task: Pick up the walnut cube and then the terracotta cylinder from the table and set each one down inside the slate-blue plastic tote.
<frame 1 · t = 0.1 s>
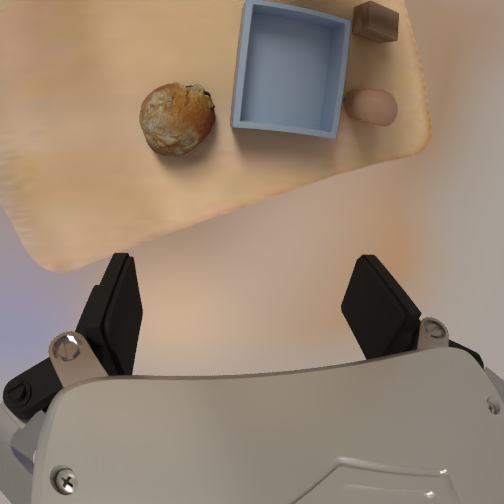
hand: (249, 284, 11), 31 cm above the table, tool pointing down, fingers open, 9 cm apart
terracotta cylinder: (358, 104, 36), on the table
tote: (285, 69, 33), on the table
bread roll: (178, 116, 35), on the table
walnut cube: (367, 25, 29), on the table
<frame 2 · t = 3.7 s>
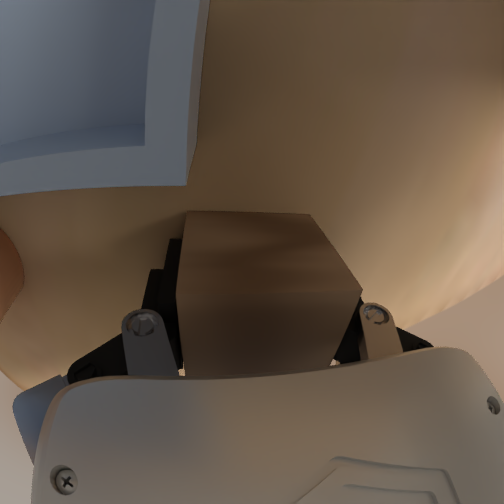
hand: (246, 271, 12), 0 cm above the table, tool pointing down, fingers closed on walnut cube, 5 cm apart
tote: (10, 16, 4), on the table
walnut cube: (245, 264, 13), on the table, touching gripper
when the fingers open (2 cm above the table, at t = 8.2 s): walnut cube drops 1 cm, resting on tote.
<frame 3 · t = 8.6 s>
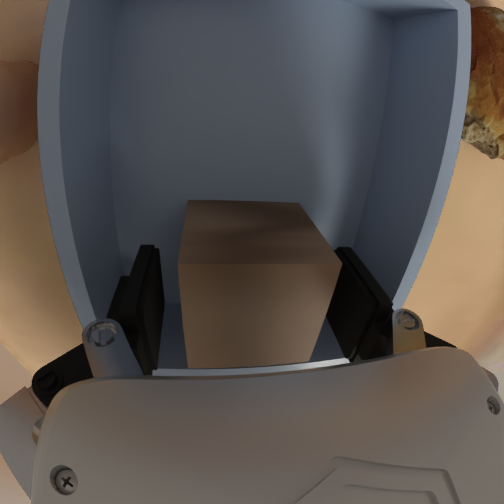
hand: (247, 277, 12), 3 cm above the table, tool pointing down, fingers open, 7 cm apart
terracotta cylinder: (12, 108, 8), on the table
tote: (248, 153, 12), on the table
bread roll: (472, 78, 11), on the table
walnut cube: (240, 249, 14), point 1 cm above the table, touching tote
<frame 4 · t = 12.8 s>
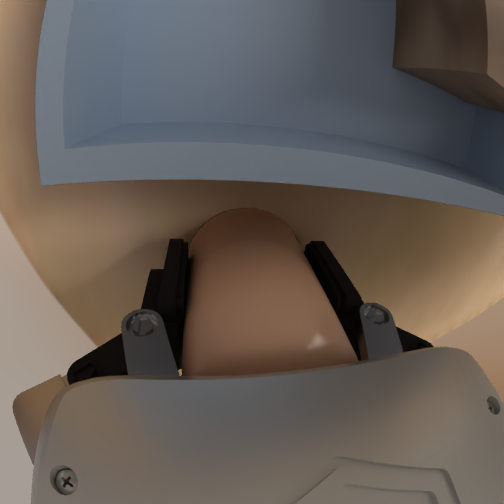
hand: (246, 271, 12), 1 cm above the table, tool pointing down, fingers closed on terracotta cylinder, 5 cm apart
terracotta cylinder: (243, 259, 13), on the table, touching gripper
tote: (346, 2, 7), on the table
walnut cube: (437, 39, 8), point 1 cm above the table, touching tote
when the fingers open (3 cm above the table, at t = 17.1 s): terracotta cylinder drops 1 cm, resting on tote.
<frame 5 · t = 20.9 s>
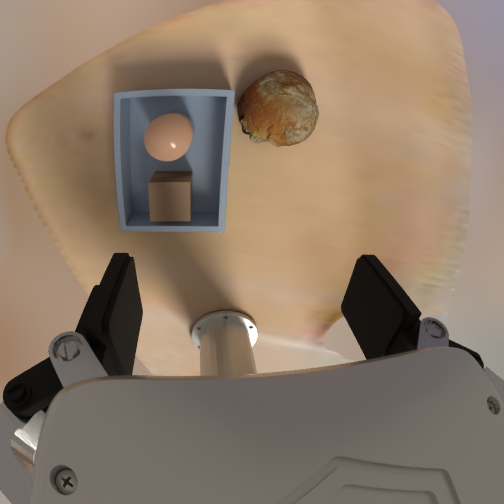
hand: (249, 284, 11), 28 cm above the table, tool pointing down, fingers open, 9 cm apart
terracotta cylinder: (175, 130, 32), point 1 cm above the table, touching tote
tote: (174, 155, 35), on the table
bread roll: (274, 109, 34), on the table
walnut cube: (173, 188, 37), point 1 cm above the table, touching tote
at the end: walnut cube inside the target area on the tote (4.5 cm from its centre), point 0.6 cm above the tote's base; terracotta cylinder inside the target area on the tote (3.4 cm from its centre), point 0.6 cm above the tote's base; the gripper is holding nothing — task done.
